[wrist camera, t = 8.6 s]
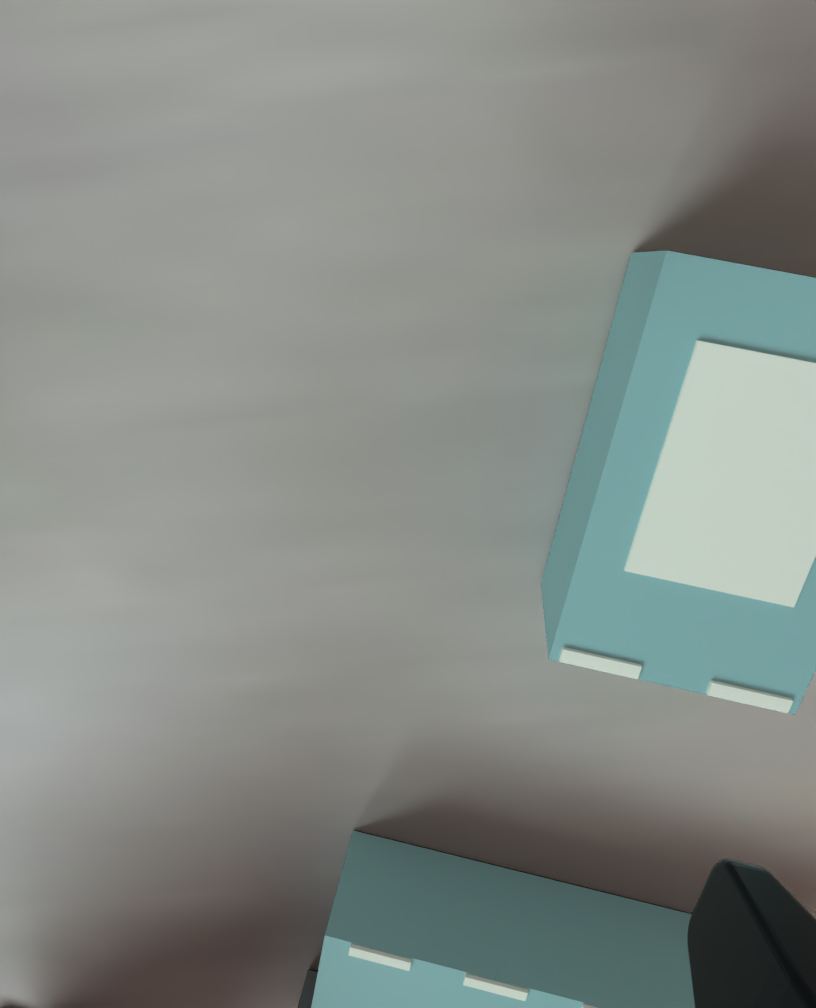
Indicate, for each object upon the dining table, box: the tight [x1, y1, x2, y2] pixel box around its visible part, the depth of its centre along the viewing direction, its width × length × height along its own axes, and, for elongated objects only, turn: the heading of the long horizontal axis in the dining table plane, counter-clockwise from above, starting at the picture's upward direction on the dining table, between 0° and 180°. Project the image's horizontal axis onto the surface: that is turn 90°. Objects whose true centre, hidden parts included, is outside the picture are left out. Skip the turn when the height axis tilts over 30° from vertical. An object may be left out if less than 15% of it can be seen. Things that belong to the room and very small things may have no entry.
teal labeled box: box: [541, 250, 816, 715], centre depth 14 cm, size 8×5×4 cm, turn 170°
